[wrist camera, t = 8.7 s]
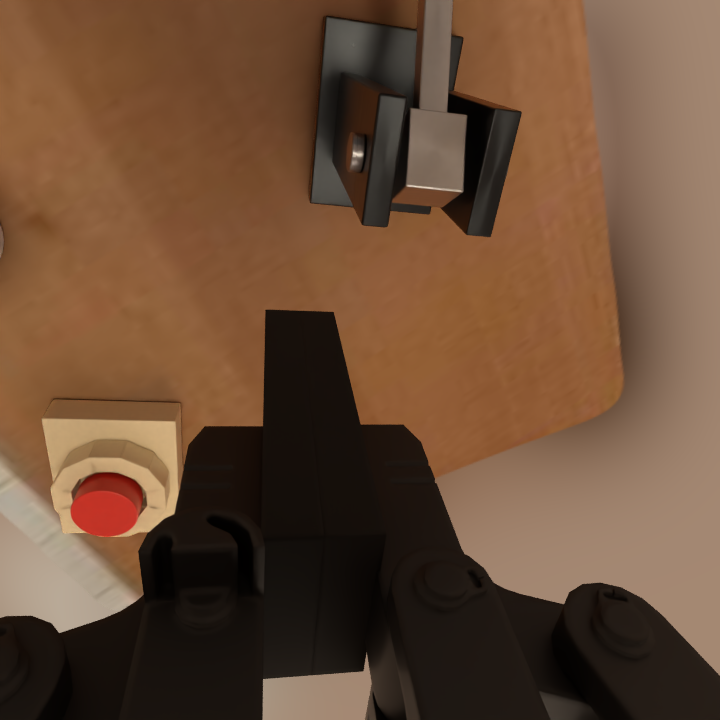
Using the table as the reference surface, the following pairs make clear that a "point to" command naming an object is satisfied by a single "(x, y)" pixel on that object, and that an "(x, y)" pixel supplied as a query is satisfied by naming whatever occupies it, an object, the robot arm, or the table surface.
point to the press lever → (431, 118)
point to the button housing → (115, 453)
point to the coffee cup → (1, 241)
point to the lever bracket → (395, 127)
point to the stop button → (107, 504)
